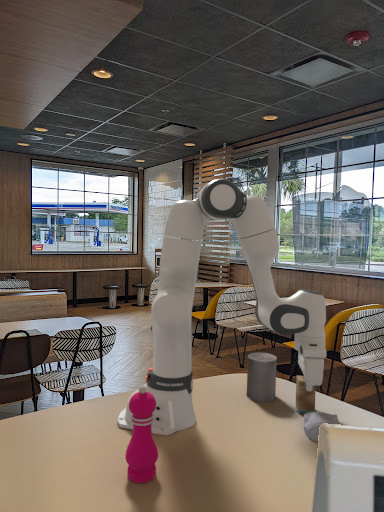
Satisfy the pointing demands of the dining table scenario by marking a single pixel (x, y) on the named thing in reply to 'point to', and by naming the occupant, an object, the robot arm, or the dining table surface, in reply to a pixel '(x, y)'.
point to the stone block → (317, 423)
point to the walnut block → (304, 397)
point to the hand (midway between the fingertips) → (308, 389)
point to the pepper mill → (142, 438)
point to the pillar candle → (261, 377)
